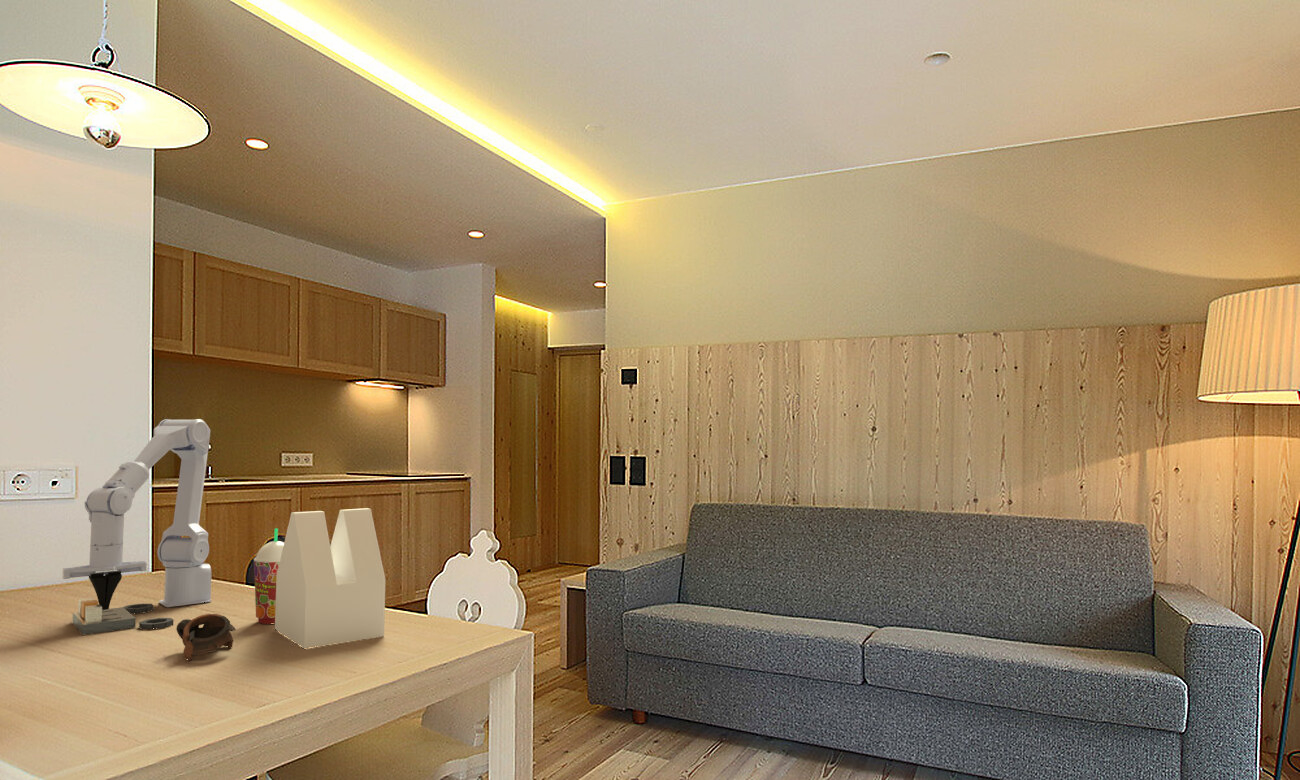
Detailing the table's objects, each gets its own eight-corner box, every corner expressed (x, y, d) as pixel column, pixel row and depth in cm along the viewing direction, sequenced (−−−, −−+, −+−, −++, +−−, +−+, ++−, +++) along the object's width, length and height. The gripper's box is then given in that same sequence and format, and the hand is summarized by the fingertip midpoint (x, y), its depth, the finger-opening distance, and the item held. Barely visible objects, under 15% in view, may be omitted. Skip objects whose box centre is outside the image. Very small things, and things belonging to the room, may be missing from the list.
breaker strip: (122, 616, 173) (123, 593, 173) (135, 627, 163) (136, 603, 163) (72, 622, 167) (73, 599, 167) (82, 635, 157) (83, 609, 157)
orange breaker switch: (94, 613, 165) (95, 599, 165) (97, 616, 163) (98, 601, 163) (81, 615, 164) (81, 601, 164) (83, 618, 161) (84, 603, 162)
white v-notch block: (384, 636, 157) (387, 512, 159) (304, 650, 147) (308, 516, 148) (349, 619, 172) (352, 505, 173) (274, 630, 162) (278, 509, 163)
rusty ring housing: (249, 649, 149) (246, 617, 145) (211, 685, 140) (207, 651, 137) (196, 630, 151) (191, 597, 147) (155, 664, 143) (149, 630, 139)
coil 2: (168, 621, 168) (169, 616, 168) (175, 626, 164) (175, 621, 164) (137, 626, 164) (137, 620, 164) (143, 631, 160) (143, 625, 160)
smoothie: (242, 623, 167) (245, 529, 168) (274, 615, 174) (277, 525, 176) (271, 627, 164) (274, 531, 165) (303, 619, 171) (305, 527, 172)
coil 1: (149, 607, 182) (149, 602, 182) (155, 611, 178) (155, 606, 178) (120, 611, 178) (120, 606, 178) (125, 615, 174) (125, 610, 174)
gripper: (67, 549, 158) (64, 617, 157) (150, 543, 168) (148, 606, 167) (62, 546, 163) (59, 611, 162) (143, 539, 173) (141, 601, 172)
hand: (103, 609), depth 165 cm, fingers closed
